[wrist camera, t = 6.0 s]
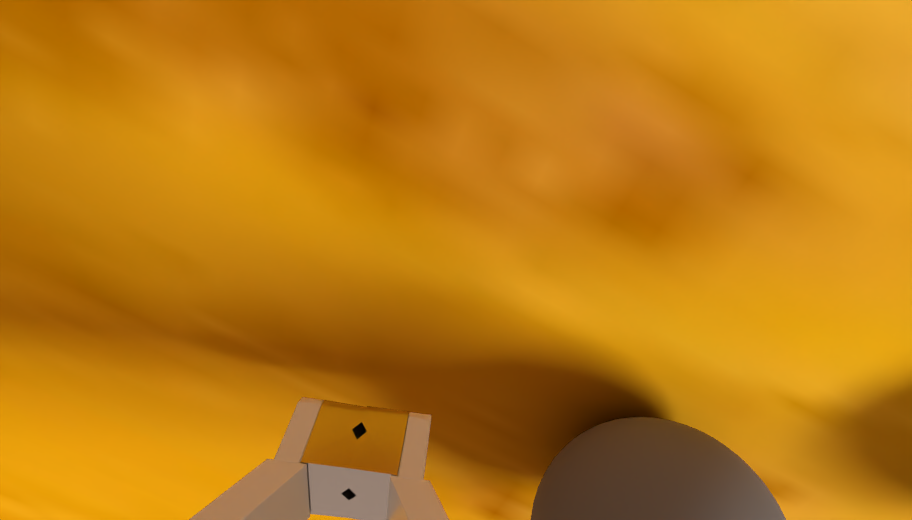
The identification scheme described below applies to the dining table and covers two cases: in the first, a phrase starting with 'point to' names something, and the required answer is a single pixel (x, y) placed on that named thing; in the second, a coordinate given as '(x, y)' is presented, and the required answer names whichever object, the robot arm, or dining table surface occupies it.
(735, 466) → the gray ball
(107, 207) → the dining table surface
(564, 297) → the dining table surface
